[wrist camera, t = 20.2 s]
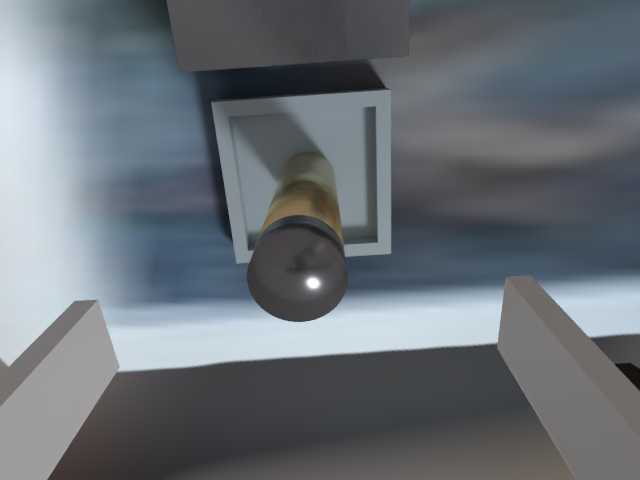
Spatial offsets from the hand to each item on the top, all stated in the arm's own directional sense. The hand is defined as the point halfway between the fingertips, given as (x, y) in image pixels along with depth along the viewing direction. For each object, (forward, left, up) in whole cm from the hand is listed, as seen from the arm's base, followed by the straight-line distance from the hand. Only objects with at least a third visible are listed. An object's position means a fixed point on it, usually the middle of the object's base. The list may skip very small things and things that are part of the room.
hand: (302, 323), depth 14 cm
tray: (0, 0, -20) cm, 20 cm away
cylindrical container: (0, 0, -19) cm, 19 cm away
